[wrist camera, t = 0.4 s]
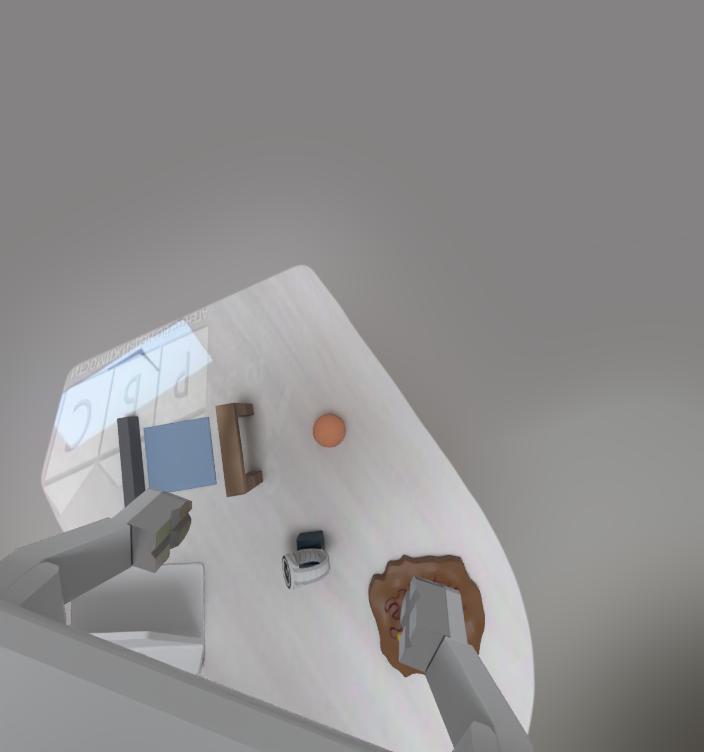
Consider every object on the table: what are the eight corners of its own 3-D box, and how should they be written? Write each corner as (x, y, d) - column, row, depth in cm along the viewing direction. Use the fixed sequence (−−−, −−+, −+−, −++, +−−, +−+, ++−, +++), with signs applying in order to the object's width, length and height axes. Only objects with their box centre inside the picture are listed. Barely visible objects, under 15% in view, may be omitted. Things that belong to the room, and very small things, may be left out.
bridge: (252, 404, 64) (233, 403, 55) (262, 481, 63) (244, 494, 53) (237, 406, 64) (215, 406, 55) (247, 484, 63) (226, 497, 53)
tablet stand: (76, 567, 62) (-31, 625, 45) (205, 561, 62) (145, 617, 45) (72, 670, 60) (-40, 771, 43) (206, 665, 60) (144, 765, 43)
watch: (289, 534, 61) (273, 561, 51) (331, 529, 61) (325, 555, 50) (292, 566, 61) (277, 599, 50) (335, 561, 61) (329, 593, 50)
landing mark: (216, 484, 63) (216, 484, 63) (150, 495, 63) (150, 495, 63) (208, 417, 64) (207, 417, 64) (144, 428, 65) (143, 428, 64)
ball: (348, 442, 63) (347, 445, 57) (318, 447, 63) (313, 451, 57) (343, 411, 64) (341, 411, 58) (313, 417, 64) (308, 417, 58)
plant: (494, 652, 59) (525, 709, 47) (388, 678, 59) (394, 741, 48) (463, 539, 61) (485, 567, 50) (361, 564, 61) (361, 598, 50)
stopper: (146, 509, 63) (136, 514, 60) (136, 511, 63) (125, 516, 60) (138, 416, 65) (127, 416, 62) (128, 418, 65) (117, 418, 62)
